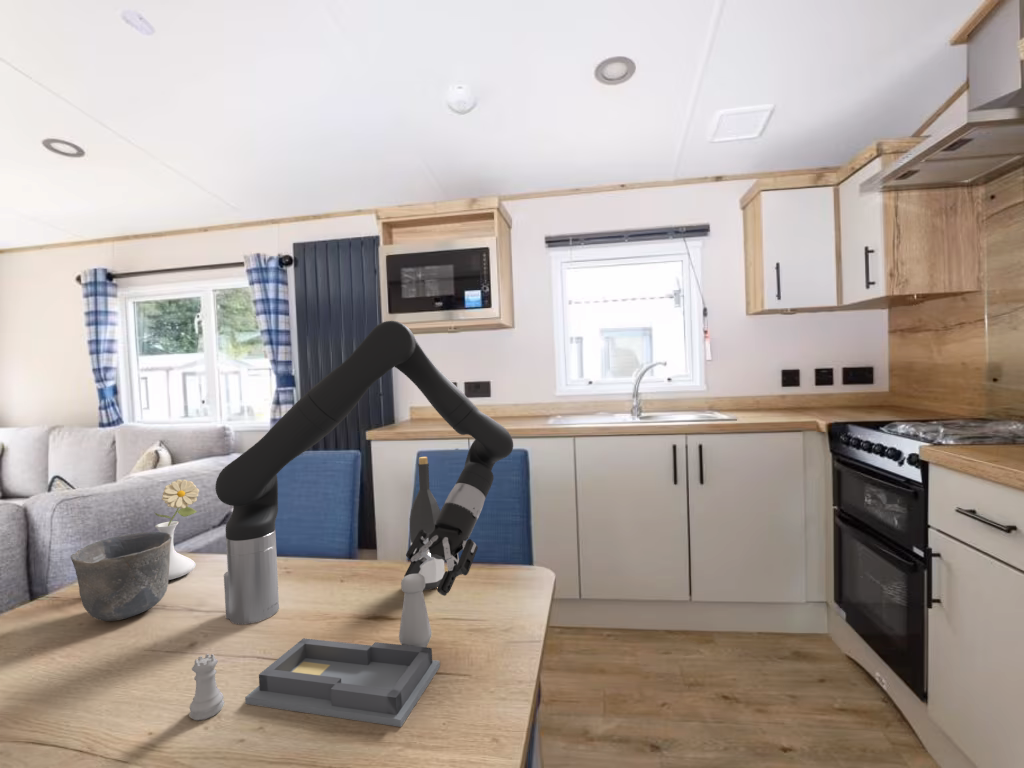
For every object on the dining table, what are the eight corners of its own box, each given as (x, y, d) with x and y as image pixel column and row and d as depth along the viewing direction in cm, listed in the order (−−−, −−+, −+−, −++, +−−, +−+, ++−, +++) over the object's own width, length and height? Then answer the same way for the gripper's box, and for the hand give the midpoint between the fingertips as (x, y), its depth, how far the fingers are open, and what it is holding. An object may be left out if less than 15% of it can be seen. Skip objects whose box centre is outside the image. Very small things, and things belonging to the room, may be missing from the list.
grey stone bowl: (53, 625, 100) (49, 554, 100) (144, 589, 116) (141, 528, 116) (104, 640, 93) (100, 564, 93) (193, 599, 109) (190, 535, 109)
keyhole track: (439, 666, 80) (439, 646, 80) (401, 726, 66) (400, 702, 66) (305, 651, 86) (305, 632, 86) (245, 703, 73) (244, 681, 73)
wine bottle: (417, 575, 118) (412, 454, 117) (449, 576, 117) (444, 454, 116) (406, 590, 110) (400, 460, 109) (440, 591, 109) (434, 460, 108)
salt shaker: (424, 658, 82) (421, 584, 82) (394, 656, 84) (390, 582, 83) (436, 640, 88) (433, 570, 88) (407, 638, 89) (404, 569, 89)
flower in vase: (137, 590, 116) (131, 488, 116) (147, 574, 126) (142, 480, 126) (200, 578, 122) (195, 480, 122) (205, 563, 132) (201, 473, 132)
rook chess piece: (200, 702, 73) (197, 651, 73) (230, 699, 74) (227, 648, 74) (182, 723, 69) (179, 669, 69) (214, 720, 69) (212, 666, 69)
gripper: (425, 497, 99) (385, 572, 90) (480, 505, 91) (442, 588, 82) (444, 516, 104) (407, 589, 94) (497, 525, 96) (463, 605, 86)
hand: (423, 588), depth 88 cm, fingers open, 8 cm apart
